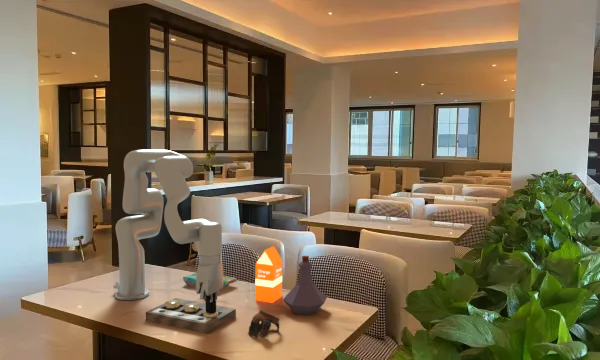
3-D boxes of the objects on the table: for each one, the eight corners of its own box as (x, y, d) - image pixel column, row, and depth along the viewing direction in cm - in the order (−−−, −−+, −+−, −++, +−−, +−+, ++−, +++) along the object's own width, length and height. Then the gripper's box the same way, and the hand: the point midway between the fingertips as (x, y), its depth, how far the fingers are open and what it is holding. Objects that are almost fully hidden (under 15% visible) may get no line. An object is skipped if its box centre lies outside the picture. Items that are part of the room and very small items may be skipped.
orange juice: (254, 300, 182) (255, 249, 181) (265, 293, 190) (265, 245, 189) (273, 303, 179) (273, 251, 178) (282, 296, 187) (283, 246, 186)
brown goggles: (244, 330, 154) (255, 306, 156) (270, 342, 155) (280, 318, 157) (249, 335, 143) (260, 309, 145) (276, 348, 144) (287, 322, 146)
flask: (299, 299, 184) (300, 249, 182) (335, 308, 174) (336, 255, 172) (273, 311, 170) (273, 257, 169) (310, 322, 161) (311, 264, 159)
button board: (145, 320, 160) (145, 311, 160) (175, 305, 175) (175, 297, 175) (209, 333, 150) (209, 323, 149) (235, 317, 164) (235, 307, 164)
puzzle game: (202, 269, 210) (237, 276, 199) (203, 279, 210) (237, 287, 199) (183, 275, 200) (217, 283, 189) (183, 285, 200) (217, 294, 189)
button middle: (180, 313, 161) (180, 307, 161) (189, 308, 165) (189, 302, 165) (192, 315, 159) (192, 309, 159) (201, 310, 163) (201, 304, 163)
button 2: (200, 319, 158) (200, 313, 157) (208, 314, 162) (208, 308, 162) (212, 322, 156) (212, 315, 155) (220, 317, 160) (220, 311, 160)
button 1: (162, 309, 164) (162, 303, 164) (171, 305, 169) (171, 299, 168) (173, 311, 162) (173, 305, 162) (182, 307, 167) (182, 301, 166)
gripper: (213, 253, 166) (214, 304, 167) (187, 262, 152) (188, 318, 153) (232, 255, 163) (232, 307, 164) (206, 265, 149) (207, 321, 150)
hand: (210, 312), depth 159 cm, fingers closed
